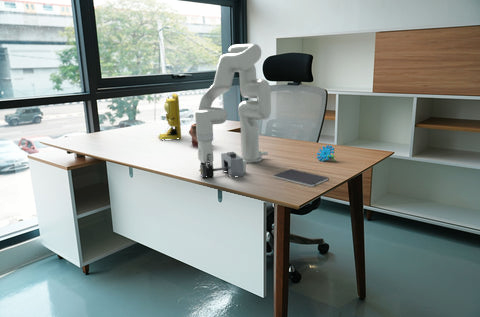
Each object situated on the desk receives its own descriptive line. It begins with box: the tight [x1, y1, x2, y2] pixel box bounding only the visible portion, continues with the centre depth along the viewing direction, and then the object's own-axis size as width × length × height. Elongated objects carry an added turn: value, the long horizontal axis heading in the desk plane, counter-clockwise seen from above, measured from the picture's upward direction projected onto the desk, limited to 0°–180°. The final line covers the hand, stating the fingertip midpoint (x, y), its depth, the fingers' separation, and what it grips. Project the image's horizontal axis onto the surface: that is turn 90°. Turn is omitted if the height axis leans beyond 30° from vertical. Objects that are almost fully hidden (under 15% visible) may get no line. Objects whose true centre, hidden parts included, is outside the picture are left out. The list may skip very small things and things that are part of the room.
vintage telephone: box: [158, 93, 182, 140], centre depth 273 cm, size 31×14×30 cm, turn 17°
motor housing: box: [220, 151, 244, 178], centre depth 185 cm, size 6×14×10 cm, turn 21°
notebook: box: [273, 168, 330, 187], centre depth 175 cm, size 13×2×21 cm
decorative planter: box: [188, 122, 198, 147], centre depth 246 cm, size 20×12×14 cm, turn 49°
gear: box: [316, 144, 336, 162], centre depth 204 cm, size 11×6×10 cm
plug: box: [198, 159, 247, 178], centre depth 184 cm, size 22×4×6 cm, turn 110°
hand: (207, 173), depth 182 cm, fingers open, 9 cm apart
